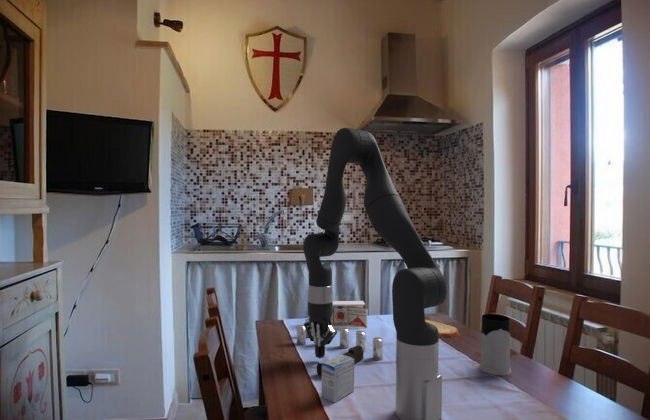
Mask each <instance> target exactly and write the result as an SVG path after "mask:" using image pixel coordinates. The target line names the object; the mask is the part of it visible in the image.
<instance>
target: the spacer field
mask: <svg viewBox="0 0 650 420" xmlns="http://www.w3.org/2000/svg"><path fill="white" fill-rule="evenodd" d="M304 321H305V322H304V323H306V322H308V321H309V318H305V319H304ZM349 333H350V329H348V328H340V329H339V348H340V349H350V348H349V346H350V345H349V343H350V340H349V338H350V337H349V336H350V335H349ZM311 334H312V333H311ZM306 338H307V339H310V338H309V336H308V334H307V331H306V329H305V327H304V324H298V325H296V344H297V346H304V345H306V340H307V339H306ZM322 339H323V338H322ZM383 341H384V338H382V337H373V338H372V359H373V360H374V361H382V360H383V358H384V357H383V356H384V355H383V353H384V352H383V351H384V349H383V348H384V346H383V343H384V342H383ZM355 346H361V347H362V348H363V353H366V331H364V330H357V331H355Z"/></svg>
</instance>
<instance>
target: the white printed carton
mask: <svg viewBox="0 0 650 420" xmlns="http://www.w3.org/2000/svg"><path fill="white" fill-rule="evenodd" d="M364 306H366V303H365V302H364V300H333V314H332V316H331V318H330V319H331V323H332V325H331V327H332V328H333V329H334V330H335V329H336V330H338V329H339V330H340V328H348V329H349V330H350V329H351V330H352V329H353V330H354V329H366V328H367V327H368V308H364Z"/></svg>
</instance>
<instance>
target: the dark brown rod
mask: <svg viewBox="0 0 650 420" xmlns="http://www.w3.org/2000/svg"><path fill="white" fill-rule="evenodd" d="M347 350H348V351H347V352H345V353H343V354H342V355H345V356H348V357H351V358H353V359H354V365H357V364H358V363H360V362H361V361H362V360H363V359H364V352H363V348H362V347H361V346H356V345H355V346H352V347H350V348H347ZM326 361H327V360H326ZM326 361H324V362H326ZM324 362H318V363H316V373H317V376H319V377H321V378H322V363H324Z"/></svg>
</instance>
